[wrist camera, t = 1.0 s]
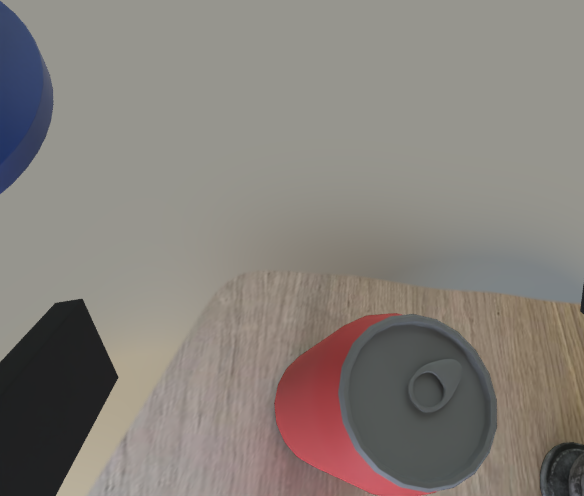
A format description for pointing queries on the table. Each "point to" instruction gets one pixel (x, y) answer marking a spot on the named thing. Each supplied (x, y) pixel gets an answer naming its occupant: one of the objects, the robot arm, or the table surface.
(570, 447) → the salt shaker
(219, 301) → the table surface
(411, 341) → the beer can
